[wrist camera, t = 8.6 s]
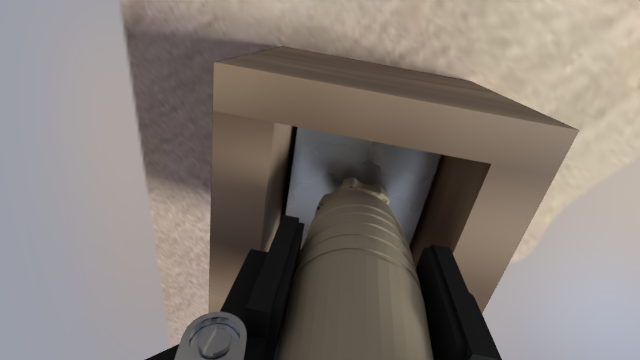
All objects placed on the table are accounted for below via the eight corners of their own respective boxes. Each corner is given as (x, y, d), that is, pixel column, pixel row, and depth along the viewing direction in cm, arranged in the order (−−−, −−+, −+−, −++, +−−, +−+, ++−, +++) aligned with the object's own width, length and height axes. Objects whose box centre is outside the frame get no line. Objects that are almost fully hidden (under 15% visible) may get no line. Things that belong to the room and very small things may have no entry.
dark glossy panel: (304, 102, 15) (300, 107, 14) (442, 128, 15) (448, 135, 14) (285, 234, 18) (281, 245, 17) (399, 257, 18) (401, 269, 17)
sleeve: (282, 46, 19) (213, 61, 10) (471, 81, 19) (579, 130, 10) (265, 208, 24) (208, 318, 15) (415, 237, 23) (452, 369, 14)
